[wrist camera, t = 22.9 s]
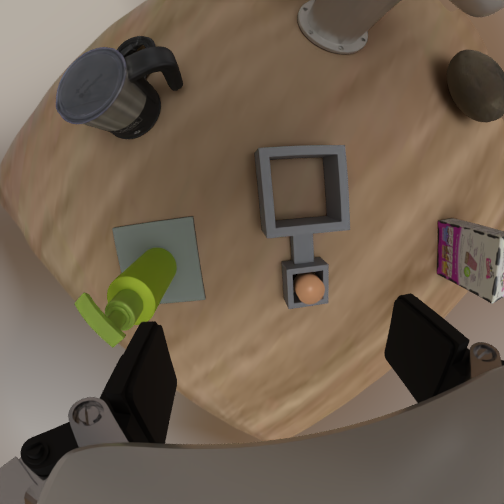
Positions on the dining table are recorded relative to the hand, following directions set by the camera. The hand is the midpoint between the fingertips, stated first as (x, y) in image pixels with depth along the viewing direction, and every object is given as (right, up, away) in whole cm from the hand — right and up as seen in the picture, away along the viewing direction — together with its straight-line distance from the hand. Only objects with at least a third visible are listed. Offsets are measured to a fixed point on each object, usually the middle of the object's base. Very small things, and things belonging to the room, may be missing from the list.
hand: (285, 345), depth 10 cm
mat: (-16, +2, +31) cm, 34 cm away
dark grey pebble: (+40, +36, +26) cm, 60 cm away
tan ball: (+7, -1, +30) cm, 31 cm away
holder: (+6, +7, +31) cm, 32 cm away
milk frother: (-20, +29, +23) cm, 42 cm away
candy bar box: (+37, +5, +34) cm, 51 cm away
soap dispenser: (-16, +2, +30) cm, 34 cm away
